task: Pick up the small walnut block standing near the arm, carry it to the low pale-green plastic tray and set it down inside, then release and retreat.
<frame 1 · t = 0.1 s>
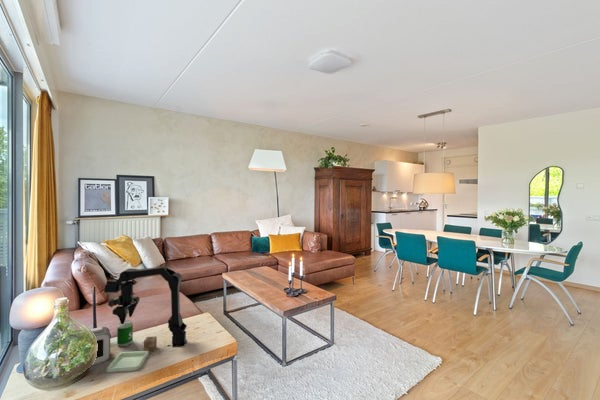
hand: (126, 320, 157), 15 cm above the table, fingers open, 9 cm apart
tray: (128, 362, 142), on the table
walnut block: (150, 349, 155), on the table
alarm clock: (90, 360, 144), on the table
soda can: (124, 344, 160), on the table
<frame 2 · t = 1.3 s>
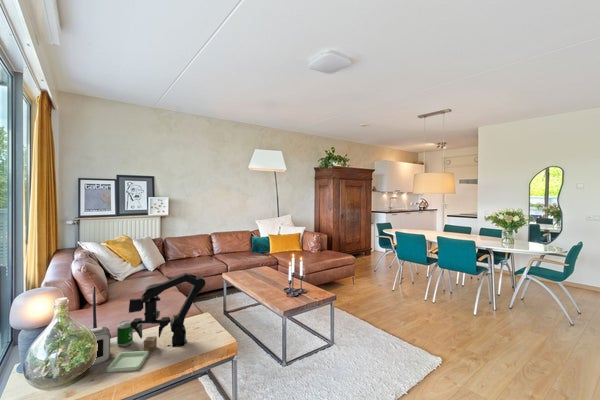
hand: (150, 337, 155), 7 cm above the table, fingers open, 9 cm apart
nothing on the table moved.
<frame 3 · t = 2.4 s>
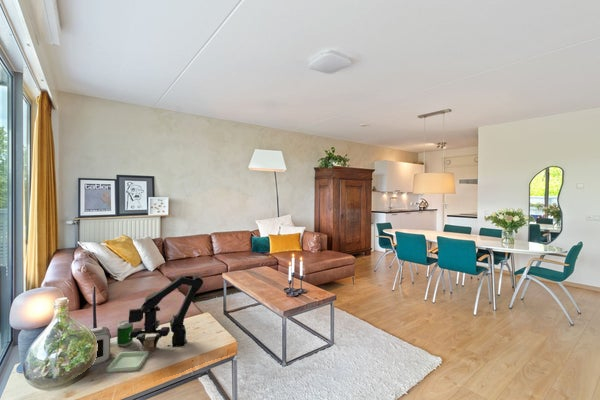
hand: (150, 347, 155), 1 cm above the table, fingers closed on walnut block, 5 cm apart
walnut block: (150, 349, 155), on the table, touching gripper
everything else where it was.
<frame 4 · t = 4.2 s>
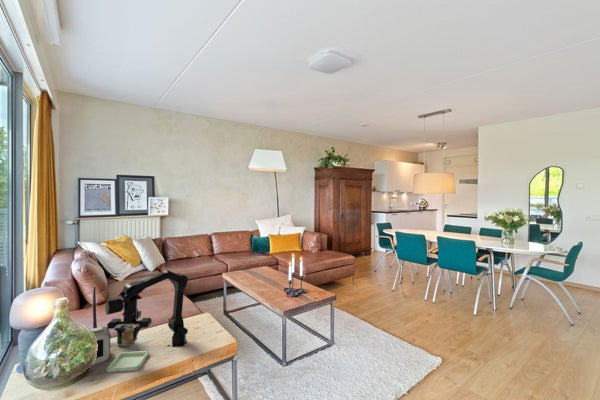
hand: (129, 340, 142), 11 cm above the table, fingers closed on walnut block, 5 cm apart
walnut block: (129, 342, 143), point 10 cm above the table, touching gripper
everything else where it was.
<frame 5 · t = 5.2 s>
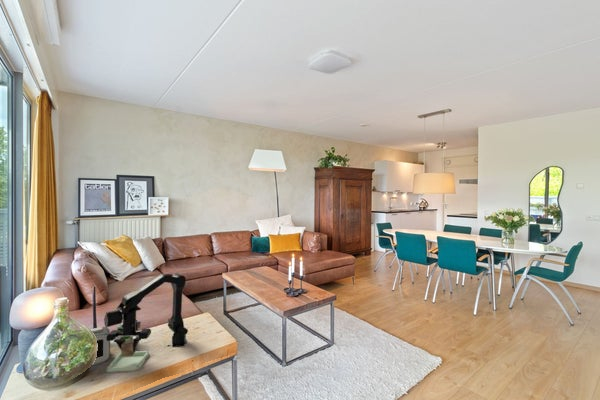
hand: (129, 351, 142), 6 cm above the table, fingers closed on walnut block, 5 cm apart
walnut block: (129, 353, 142), point 5 cm above the table, touching gripper
everything else where it was.
when the fingers open (3 cm above the table, at t = 6.2 s): walnut block drops 1 cm, resting on tray.
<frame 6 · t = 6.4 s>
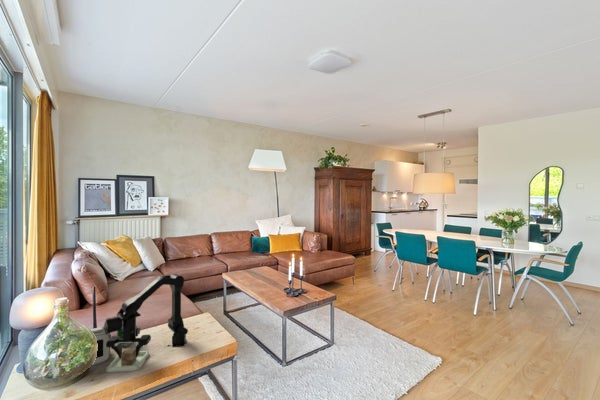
hand: (128, 357, 142), 3 cm above the table, fingers open, 7 cm apart
walnut block: (128, 362, 142), resting on tray
everything else where it was.
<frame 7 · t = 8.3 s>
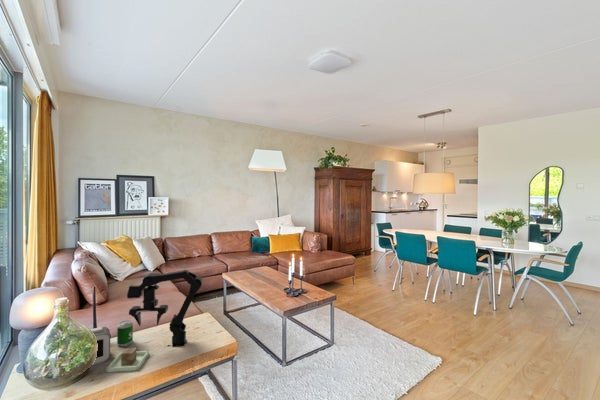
hand: (148, 325, 158), 12 cm above the table, fingers open, 9 cm apart
nothing on the table moved.
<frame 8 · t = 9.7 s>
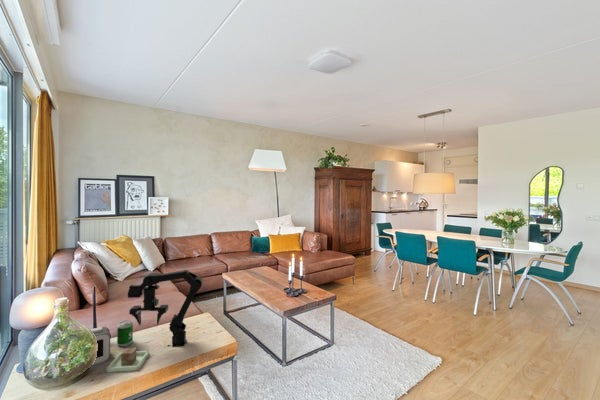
hand: (149, 324, 158), 12 cm above the table, fingers open, 9 cm apart
nothing on the table moved.
at the end: walnut block inside the target area on the tray (0.1 cm from its centre), point 0.1 cm above the tray's base; walnut block tilted 0°; the gripper is holding nothing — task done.
